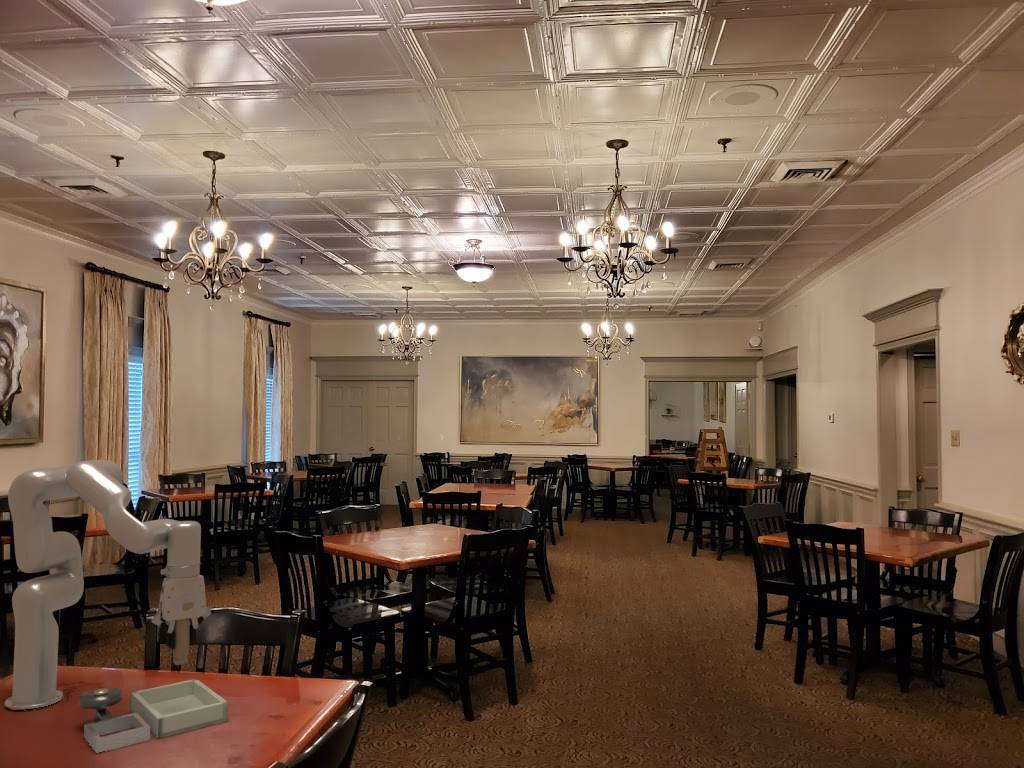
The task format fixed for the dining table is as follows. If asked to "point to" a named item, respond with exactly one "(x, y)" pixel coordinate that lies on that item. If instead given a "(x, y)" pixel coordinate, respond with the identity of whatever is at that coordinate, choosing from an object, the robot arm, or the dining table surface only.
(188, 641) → the handle
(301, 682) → the dining table surface
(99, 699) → the bracket
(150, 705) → the tray
